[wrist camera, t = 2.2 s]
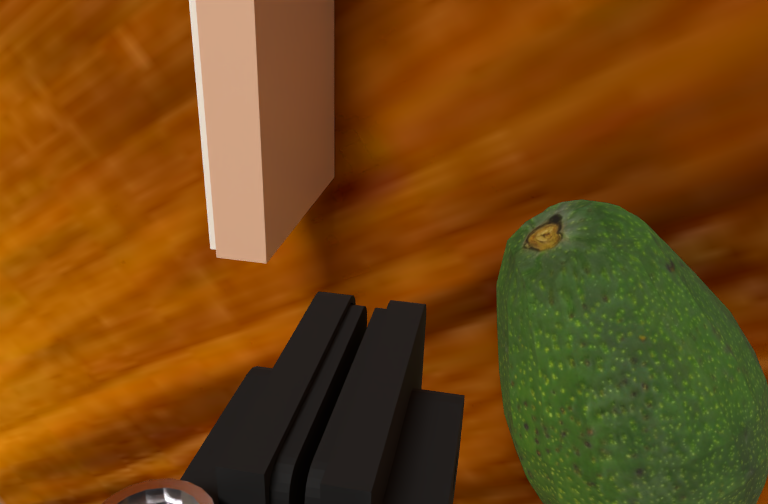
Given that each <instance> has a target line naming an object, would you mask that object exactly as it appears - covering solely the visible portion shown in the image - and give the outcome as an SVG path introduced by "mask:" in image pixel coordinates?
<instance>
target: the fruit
mask: <svg viewBox="0 0 768 504" xmlns="http://www.w3.org/2000/svg"><path fill="white" fill-rule="evenodd" d="M496 287H497V330H498V355H499V373H500V381H501V390H502V398H503V407H504V414H505V417H506V420H507V424H508V427H509V430H510V433H511V436H512V439H513V443H514V446H515V449H516V451H517V454H518V456H519V459H520V462H521V464H522V467H523V469H524V472H525V474H526V477H527V479H528V481H529V482H530V484H531V485H532V487H533V488H534V490H535V491H536V493H537V495H538V496H539V498H540V499H541V501H542V502H543V503H544V504H756V503H757V500H758V498H759V496H760V494H761V492H762V489H763V487H764V485H765V482H766V478H767V475H768V386H767V381H766V378H765V376H764V373H763V371H762V369H761V366H760V364H759V361H758V359H757V356H756V354H755V352H754V350H753V348H752V346H751V345H750V343H749V342H748V340H747V338H746V337H745V335H744V333H743V332H742V330H741V329H740V327H739V325H738V324H737V322H736V320H735V319H734V317H733V315H732V314H731V312H730V311H729V310H728V309H727V308H726V307H725V305H724V304H723V303H722V302H721V301H720V300H719V299H718V298H717V297H716V296H715V295H714V294H713V292H712V291H711V290H710V289H709V288H708V287H707V286H706V285H705V284H704V283H703V282H702V280H701V279H700V278H699V277H698V276H697V275H696V274H695V273H694V272H693V271H692V270H691V269H690V268H689V267H688V266H687V265H686V264H685V262H684V261H683V260H682V259H681V258H680V257H679V256H678V255H677V254H676V253H675V252H674V251H673V250H672V249H671V248H670V247H669V246H668V245H667V244H666V243H665V242H664V241H663V240H662V239H661V238H660V237H659V236H658V235H657V234H656V233H655V232H654V231H653V230H652V229H651V228H650V227H649V226H648V225H647V224H646V223H645V222H644V221H643V220H641V219H640V218H639V217H638V216H636V215H634V214H632V213H629V212H628V211H626V210H625V209H623V208H621V207H620V206H617V205H613V204H610V203H604V202H596V201H589V200H574V201H567V202H561V203H559V204H556V205H553V206H550V207H548V208H547V209H546V210H545V211H544V212H542V213H540V214H539V215H537V216H535V217H533V218H532V219H530V220H528V221H526V222H525V223H524V224H523V225H522V226H521V227H520V228H519V229H518V230H517V231H516V232H515V233H514V234H513V235H512V236H511V237H510V238H509V239H508V240H507V244H506V248H505V252H504V256H503V260H502V264H501V268H500V272H499V276H498V280H497V285H496Z"/></svg>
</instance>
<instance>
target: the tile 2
mask: <svg viewBox="0 0 768 504" xmlns="http://www.w3.org/2000/svg"><path fill="white" fill-rule="evenodd" d="M189 5H190V17H191V29H192V40H193V52H194V63H195V75H196V87H197V98H198V110H199V122H200V133H201V145H202V157H203V168H204V180H205V192H206V203H207V215H208V226H209V238H210V249H216V255H217V258H226V259H234V260H242V261H251V262H259V263H267V262H268V261H269V260H270V258H271V257H272V256H273V254H274V253H275V252H276V251H277V249H278V248H279V247H280V246H281V244H282V243H283V242H284V240H285V239H286V238H287V237H288V235H289V234H290V233H291V232H292V230H293V229H294V228H295V226H296V225H297V224H298V223H299V221H300V220H301V219H302V218H303V216H304V215H305V214H306V213H307V211H308V210H309V209H310V207H311V206H312V205H313V204H314V202H315V201H316V200H317V199H318V197H319V196H320V195H321V193H322V192H323V191H324V190H325V188H326V187H327V186H328V185H329V183H330V182H331V181H332V179H333V178H334V0H189Z"/></svg>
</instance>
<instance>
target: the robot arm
mask: <svg viewBox="0 0 768 504" xmlns="http://www.w3.org/2000/svg"><path fill="white" fill-rule="evenodd" d="M425 325H426V304H418V303H410V302H402V301H393V300H390V302H389V304H388V307H387V309H383V308H375V310H374V312H373V315H372V317H371V319H370V322H369V324H368V327H367V309H366V306H358V305H356V303H355V298H354V296H352V295H344V294H336V293H327V292H318V293H317V294H316V295H315V297H314V299H313V301H312V302H311V304H310V306H309V307H308V309H307V311H306V312H305V314H304V316H303V318H302V319H301V321H300V323H299V324H298V326H297V328H296V330H295V331H294V333H293V335H292V336H291V338H290V340H289V342H288V343H287V345H286V347H285V348H284V350H283V352H282V353H281V355H280V357H279V359H278V360H277V362H276V364H275V365H274V367H273V368H266V367H258V366H256V367H253V368H252V369H251V370H250V371H249V372H248V374H247V375H246V377H245V378H244V380H243V381H242V383H241V385H240V386H239V388H238V389H237V391H236V392H235V394H234V396H233V397H232V399H231V400H230V402H229V404H228V405H227V407H226V408H225V410H224V411H223V413H222V415H221V416H220V418H219V419H218V421H217V422H216V424H215V426H214V427H213V429H212V430H211V432H210V433H209V435H208V437H207V438H206V440H205V441H204V443H203V444H202V446H201V448H200V449H199V451H198V452H197V454H196V456H195V457H194V459H193V460H192V462H191V463H190V465H189V467H188V468H187V470H186V471H185V473H184V474H183V476H182V478H181V479H180V480H176V479H155V480H148V481H145V482H141V483H138V484H134V485H131V486H129V487H127V488H125V489H123V490H121V491H119V492H117V493H115V494H113V495H112V496H111V497H109V498H108V499H107V500H106V501H104V502H103V503H102V504H453V498H454V490H455V483H456V475H457V466H458V458H459V449H460V439H461V429H462V419H463V409H464V395H457V394H450V393H443V392H436V391H429V390H422V389H421V385H422V370H423V355H424V340H425Z"/></svg>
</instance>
